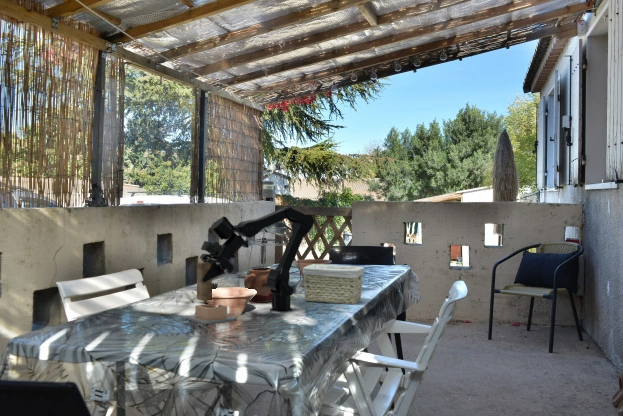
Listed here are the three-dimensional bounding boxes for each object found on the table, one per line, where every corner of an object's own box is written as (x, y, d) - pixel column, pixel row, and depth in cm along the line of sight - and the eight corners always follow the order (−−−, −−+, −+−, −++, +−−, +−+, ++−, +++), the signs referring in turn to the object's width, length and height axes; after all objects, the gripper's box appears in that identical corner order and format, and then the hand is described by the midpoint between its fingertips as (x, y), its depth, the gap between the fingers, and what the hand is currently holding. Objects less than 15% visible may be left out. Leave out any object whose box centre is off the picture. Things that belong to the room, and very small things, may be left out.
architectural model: (239, 286, 301) (239, 266, 301) (282, 290, 289) (282, 269, 289) (214, 290, 284) (214, 270, 284) (258, 295, 272) (258, 273, 272)
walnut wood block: (207, 298, 218) (207, 262, 218) (211, 299, 215) (212, 263, 215) (196, 298, 216) (197, 262, 216) (201, 300, 213) (201, 263, 213)
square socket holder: (217, 314, 222) (217, 301, 222) (236, 320, 212) (237, 306, 212) (185, 318, 213) (185, 305, 213) (204, 324, 203) (204, 310, 203)
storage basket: (364, 299, 262) (365, 265, 262) (357, 305, 246) (357, 269, 246) (311, 296, 269) (312, 263, 269) (301, 302, 253) (301, 267, 253)
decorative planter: (259, 306, 241) (259, 271, 241) (233, 303, 247) (234, 269, 246) (284, 299, 258) (284, 267, 258) (260, 297, 264) (260, 265, 264)
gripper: (204, 231, 225) (176, 262, 219) (226, 234, 210) (195, 268, 204) (224, 252, 230) (196, 283, 224) (246, 256, 214) (217, 289, 208)
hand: (200, 280), depth 215 cm, fingers closed on walnut wood block, 4 cm apart
